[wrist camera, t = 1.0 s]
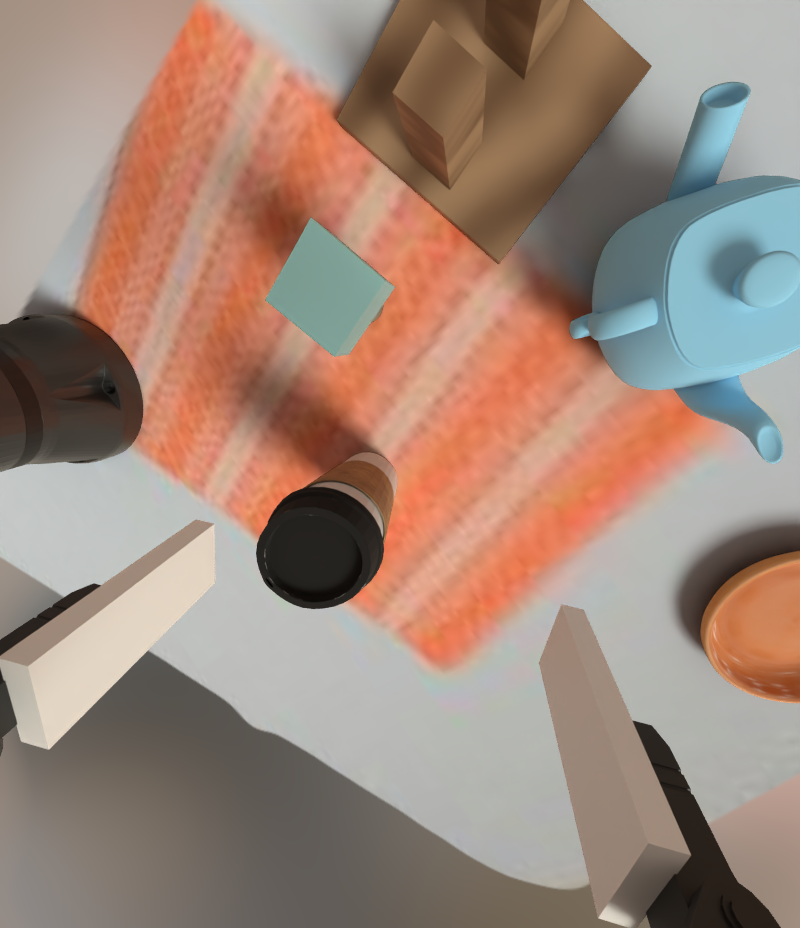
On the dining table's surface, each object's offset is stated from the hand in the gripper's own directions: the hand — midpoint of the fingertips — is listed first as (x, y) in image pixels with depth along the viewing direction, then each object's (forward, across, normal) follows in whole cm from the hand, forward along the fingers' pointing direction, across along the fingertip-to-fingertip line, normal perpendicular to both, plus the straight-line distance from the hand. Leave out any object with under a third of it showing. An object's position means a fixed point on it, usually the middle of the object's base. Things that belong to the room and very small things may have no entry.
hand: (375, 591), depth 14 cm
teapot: (+23, +16, +14) cm, 32 cm away
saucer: (+23, +36, -10) cm, 44 cm away
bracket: (+23, -1, +25) cm, 34 cm away
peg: (+23, -8, +10) cm, 27 cm away
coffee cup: (+23, -5, -6) cm, 25 cm away
